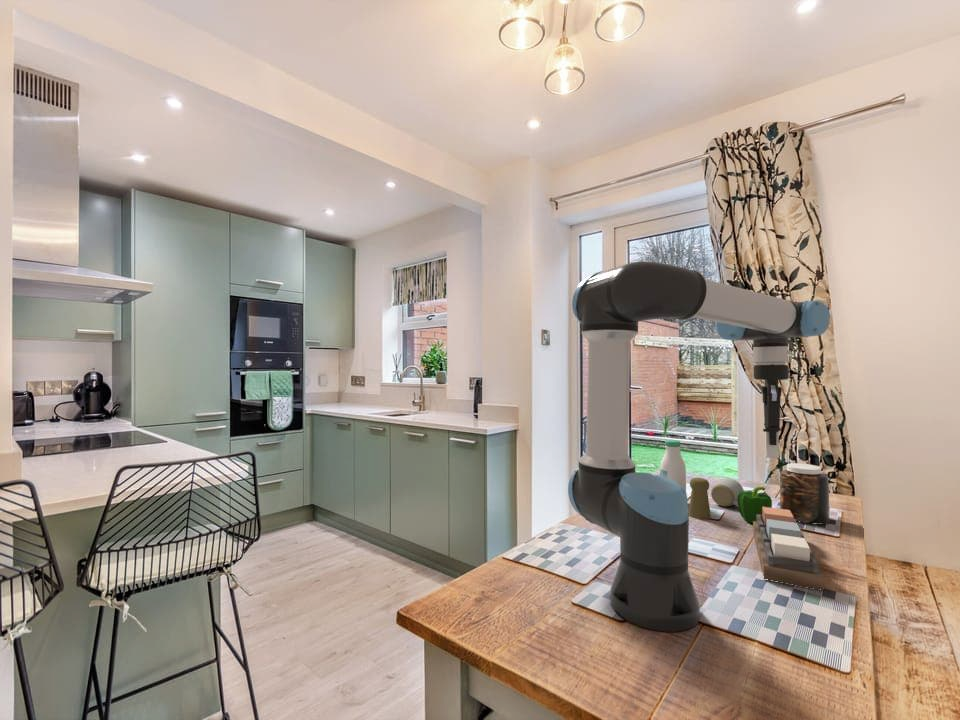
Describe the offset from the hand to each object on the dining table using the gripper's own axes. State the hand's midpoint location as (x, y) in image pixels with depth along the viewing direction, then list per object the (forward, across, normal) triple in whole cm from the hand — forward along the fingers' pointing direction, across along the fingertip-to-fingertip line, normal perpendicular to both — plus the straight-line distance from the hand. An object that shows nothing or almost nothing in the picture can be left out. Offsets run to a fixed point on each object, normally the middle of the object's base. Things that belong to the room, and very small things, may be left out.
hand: (772, 457), depth 114 cm
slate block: (+17, -10, -1) cm, 19 cm away
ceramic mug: (+22, +28, +8) cm, 37 cm away
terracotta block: (+17, 0, -1) cm, 17 cm away
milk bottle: (+21, +23, +25) cm, 40 cm away
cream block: (+17, -21, -1) cm, 26 cm away
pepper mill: (+21, +13, +17) cm, 30 cm away
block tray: (+21, -10, -1) cm, 23 cm away
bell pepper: (+22, +15, +3) cm, 26 cm away
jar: (+22, +25, -10) cm, 34 cm away
